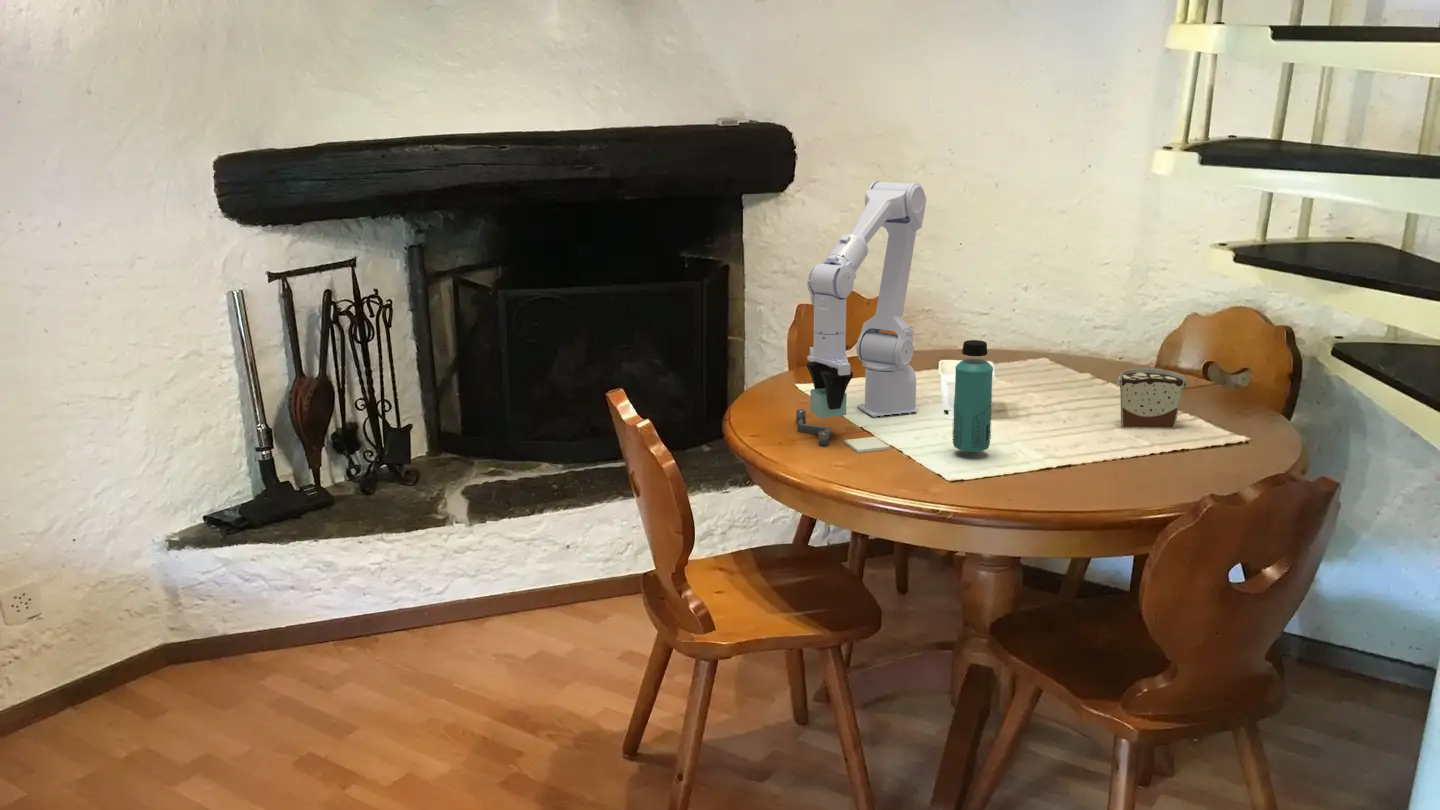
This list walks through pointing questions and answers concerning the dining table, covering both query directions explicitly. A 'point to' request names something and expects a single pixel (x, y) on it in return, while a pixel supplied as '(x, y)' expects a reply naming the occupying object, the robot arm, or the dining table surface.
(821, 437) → the grey zigzag bar
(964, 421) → the beverage bottle
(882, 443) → the coaster
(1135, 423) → the food container
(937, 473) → the dining table surface
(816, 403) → the hollow square tube
